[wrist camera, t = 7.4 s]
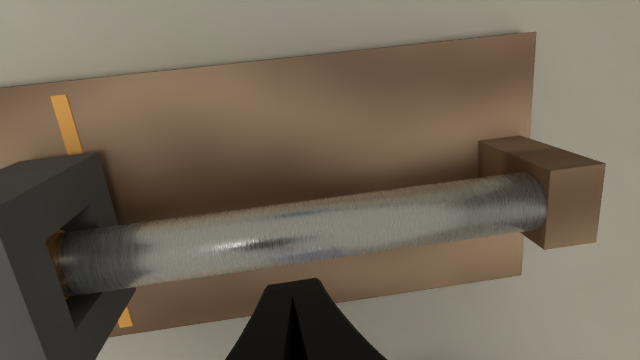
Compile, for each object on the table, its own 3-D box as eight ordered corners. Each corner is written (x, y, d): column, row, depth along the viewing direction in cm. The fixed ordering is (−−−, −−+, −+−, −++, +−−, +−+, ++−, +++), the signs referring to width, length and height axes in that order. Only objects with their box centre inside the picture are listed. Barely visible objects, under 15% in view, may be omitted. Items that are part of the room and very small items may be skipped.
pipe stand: (508, 263, 22) (598, 343, 16) (-5, 339, 20) (-127, 464, 14) (520, 33, 18) (642, 22, 12) (-106, 98, 16) (-332, 125, 10)
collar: (136, 289, 18) (65, 409, 12) (67, 300, 18) (-41, 426, 12) (97, 151, 16) (-10, 211, 10) (19, 160, 16) (-140, 227, 10)
